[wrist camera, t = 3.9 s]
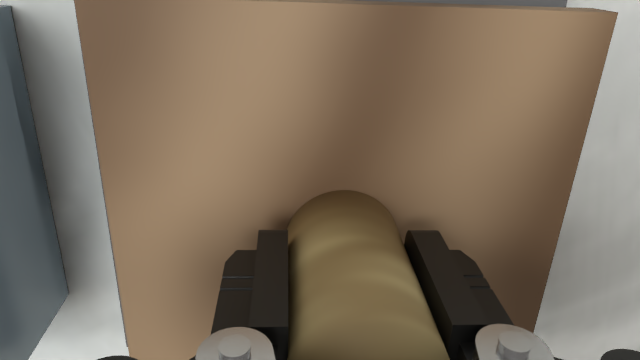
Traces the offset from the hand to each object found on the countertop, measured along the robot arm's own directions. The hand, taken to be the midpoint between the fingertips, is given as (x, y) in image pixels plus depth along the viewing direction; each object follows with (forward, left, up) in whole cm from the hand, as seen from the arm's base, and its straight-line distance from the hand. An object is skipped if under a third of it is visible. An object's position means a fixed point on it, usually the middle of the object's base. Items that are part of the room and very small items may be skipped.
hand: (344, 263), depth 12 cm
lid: (0, 0, -2) cm, 2 cm away
